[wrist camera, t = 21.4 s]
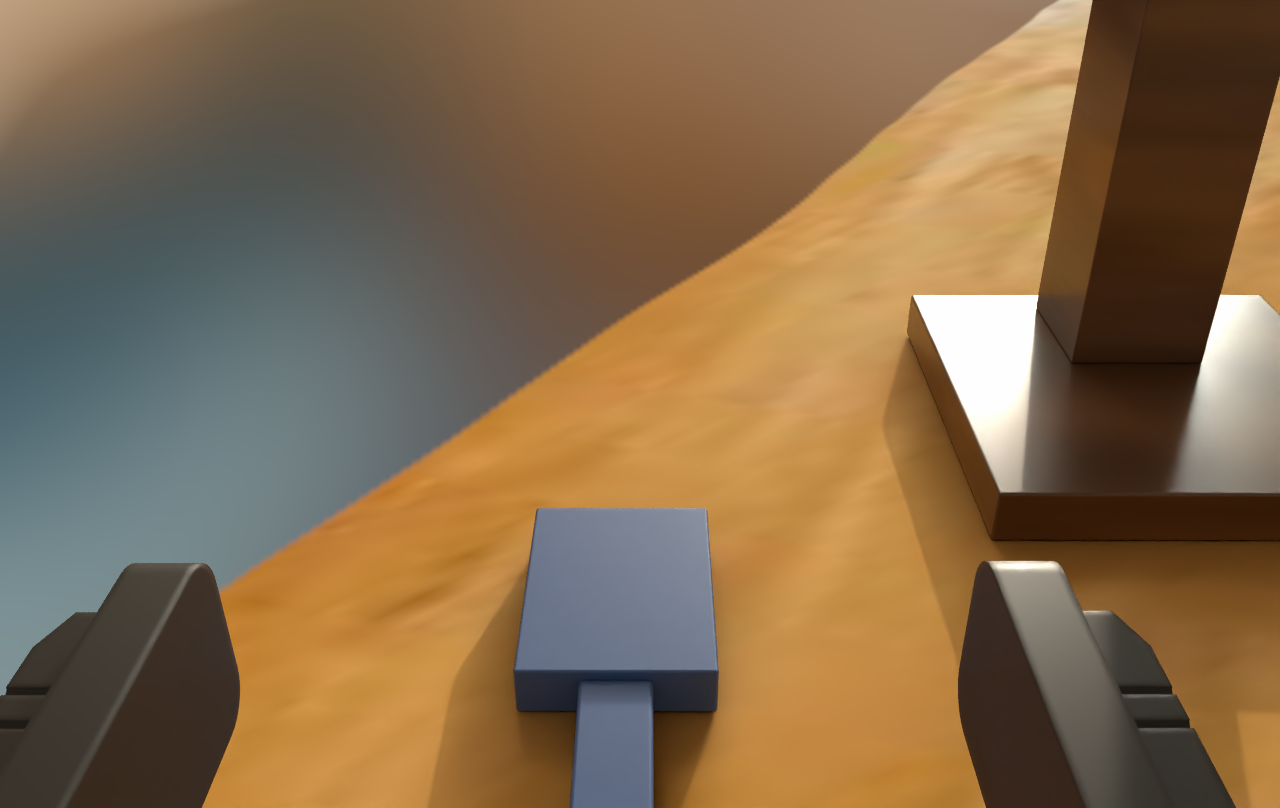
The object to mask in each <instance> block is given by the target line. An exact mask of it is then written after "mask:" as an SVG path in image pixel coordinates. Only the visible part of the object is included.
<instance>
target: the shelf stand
mask: <svg viewBox="0 0 1280 808" xmlns="http://www.w3.org/2000/svg"><path fill="white" fill-rule="evenodd" d="M1279 77H1280V0H1093V2H1092V7H1091V13H1090V18H1089V23H1088V29H1087V34H1086V40H1085V45H1084V51H1083V56H1082V61H1081V67H1080V72H1079V78H1078V83H1077V88H1076V94H1075V99H1074V105H1073V110H1072V115H1071V121H1070V126H1069V132H1068V137H1067V142H1066V148H1065V153H1064V159H1063V164H1062V169H1061V175H1060V180H1059V186H1058V191H1057V196H1056V202H1055V207H1054V213H1053V218H1052V223H1051V229H1050V234H1049V240H1048V245H1047V251H1046V256H1045V261H1044V267H1043V272H1042V278H1041V283H1040V288H1039V294H1038V295H913V296H912V297H911V304H910V312H909V320H908V328H907V334H908V336H909V339H910V341H911V343H912V346H913V348H914V351H915V353H916V356H917V358H918V361H919V363H920V365H921V368H922V370H923V373H924V375H925V378H926V380H927V383H928V385H929V387H930V390H931V392H932V395H933V397H934V400H935V402H936V404H937V407H938V409H939V412H940V414H941V417H942V419H943V422H944V424H945V426H946V429H947V431H948V434H949V436H950V439H951V441H952V444H953V446H954V448H955V451H956V453H957V456H958V458H959V461H960V463H961V466H962V468H963V470H964V473H965V475H966V478H967V480H968V483H969V485H970V488H971V490H972V492H973V495H974V497H975V500H976V502H977V505H978V507H979V510H980V512H981V514H982V517H983V519H984V522H985V524H986V527H987V529H988V531H989V534H990V536H991V538H992V539H994V540H1280V314H1279V313H1278V312H1277V311H1276V310H1275V309H1274V308H1273V307H1272V306H1271V305H1269V304H1268V303H1267V302H1266V301H1265V300H1264V299H1263V298H1262V297H1261V296H1259V295H1220V294H1221V290H1222V287H1223V283H1224V279H1225V276H1226V272H1227V268H1228V265H1229V261H1230V257H1231V254H1232V250H1233V246H1234V243H1235V239H1236V235H1237V232H1238V228H1239V224H1240V221H1241V217H1242V213H1243V209H1244V206H1245V202H1246V198H1247V195H1248V191H1249V187H1250V184H1251V180H1252V176H1253V173H1254V169H1255V165H1256V162H1257V158H1258V154H1259V151H1260V147H1261V143H1262V140H1263V136H1264V132H1265V129H1266V125H1267V121H1268V118H1269V114H1270V110H1271V107H1272V103H1273V99H1274V96H1275V92H1276V88H1277V85H1278V81H1279Z"/></svg>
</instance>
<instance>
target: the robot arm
mask: <svg viewBox="0 0 1280 808" xmlns="http://www.w3.org/2000/svg"><path fill="white" fill-rule="evenodd" d="M6 689H7V691H6V695H1V696H0V808H202V806H203V803H204V801H205V799H206V796H207V794H208V791H209V789H210V787H211V784H212V782H213V779H214V777H215V774H216V772H217V770H218V767H219V765H220V762H221V760H222V758H223V755H224V753H225V750H226V748H227V745H228V743H229V741H230V738H231V736H232V733H233V730H234V727H235V724H236V720H237V715H238V709H239V699H240V680H239V672H238V667H237V663H236V659H235V655H234V651H233V647H232V643H231V639H230V635H229V631H228V627H227V623H226V619H225V615H224V611H223V607H222V603H221V599H220V595H219V591H218V587H217V583H216V580H215V576H214V574H213V572H212V570H211V568H210V567H209V566H208V565H207V564H204V563H135V564H131V565H129V566H127V567H126V568H125V569H124V570H123V572H122V573H121V575H120V576H119V578H118V579H117V581H116V583H115V584H114V586H113V587H112V589H111V591H110V592H109V594H108V595H107V597H106V599H105V600H104V602H103V604H102V605H101V607H100V608H99V610H98V612H97V613H95V612H93V613H91V612H88V613H85V612H82V613H80V612H78V613H75V614H74V615H72V616H71V617H70V618H69V619H67V620H66V621H65V622H64V623H62V624H61V625H60V626H59V627H57V628H56V629H55V630H54V631H52V632H51V633H50V634H49V635H47V636H46V637H45V638H44V639H43V640H41V641H40V642H39V643H38V644H36V645H35V646H34V647H33V648H32V649H31V651H30V652H29V654H28V655H27V657H26V658H25V660H24V661H23V663H22V664H21V666H20V667H19V669H18V670H17V672H16V673H15V675H14V676H13V678H12V679H11V681H10V683H9V684H8V685H7V687H6ZM958 701H959V712H960V718H961V724H962V728H963V732H964V736H965V739H966V743H967V746H968V749H969V752H970V756H971V759H972V762H973V766H974V769H975V772H976V776H977V779H978V782H979V786H980V789H981V792H982V796H983V799H984V802H985V806H986V808H1236V807H1235V805H1234V803H1233V801H1232V799H1231V797H1230V795H1229V793H1228V792H1227V790H1226V788H1225V786H1224V784H1223V782H1222V780H1221V778H1220V776H1219V775H1218V773H1217V771H1216V769H1215V767H1214V765H1213V763H1212V761H1211V759H1210V757H1209V756H1208V754H1207V752H1206V750H1205V748H1204V746H1203V744H1202V742H1201V740H1200V739H1199V737H1198V735H1197V733H1196V731H1195V729H1194V728H1190V725H1189V721H1190V720H1189V718H1188V716H1187V714H1186V712H1185V710H1184V708H1183V706H1182V704H1181V703H1180V701H1179V699H1178V697H1177V695H1173V694H1172V686H1171V684H1170V682H1169V680H1168V678H1167V676H1166V674H1165V672H1164V670H1163V668H1162V667H1161V665H1160V663H1159V661H1158V659H1157V657H1156V655H1155V653H1154V651H1153V650H1152V648H1151V646H1150V645H1149V644H1148V643H1147V642H1146V641H1145V640H1143V639H1142V638H1141V637H1140V636H1139V635H1138V634H1137V633H1136V632H1135V631H1133V630H1132V629H1131V628H1130V627H1129V626H1128V625H1127V624H1126V623H1125V622H1123V621H1122V620H1121V619H1120V618H1119V617H1118V616H1117V615H1116V614H1115V613H1113V612H1112V611H1082V609H1081V606H1080V604H1079V602H1078V600H1077V598H1076V596H1075V594H1074V592H1073V590H1072V587H1071V585H1070V583H1069V581H1068V579H1067V577H1066V575H1065V573H1064V571H1063V569H1062V567H1061V566H1060V565H1059V564H1058V563H1057V562H1056V561H983V562H981V564H980V565H979V567H978V569H977V572H976V576H975V581H974V587H973V593H972V598H971V604H970V610H969V616H968V621H967V627H966V633H965V638H964V644H963V650H962V656H961V661H960V667H959V676H958Z"/></svg>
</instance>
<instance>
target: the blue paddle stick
mask: <svg viewBox="0 0 1280 808" xmlns="http://www.w3.org/2000/svg"><path fill="white" fill-rule="evenodd" d="M513 673H514V685H515V698H516V708H517V710H518V711H577V713H576V727H575V740H574V754H573V767H572V781H571V795H570V808H654V759H653V711H716V710H717V700H718V675H719V670H718V656H717V642H716V628H715V614H714V601H713V587H712V573H711V559H710V545H709V531H708V517H707V510H706V509H705V508H538V509H537V510H536V517H535V524H534V531H533V538H532V545H531V552H530V559H529V566H528V573H527V580H526V587H525V594H524V601H523V608H522V615H521V622H520V629H519V636H518V643H517V650H516V657H515V664H514V671H513Z"/></svg>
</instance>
